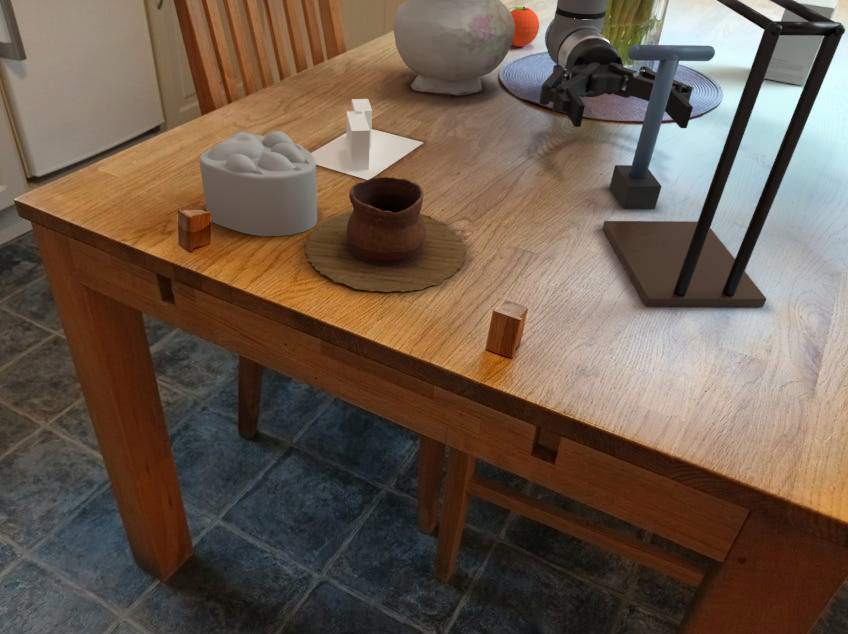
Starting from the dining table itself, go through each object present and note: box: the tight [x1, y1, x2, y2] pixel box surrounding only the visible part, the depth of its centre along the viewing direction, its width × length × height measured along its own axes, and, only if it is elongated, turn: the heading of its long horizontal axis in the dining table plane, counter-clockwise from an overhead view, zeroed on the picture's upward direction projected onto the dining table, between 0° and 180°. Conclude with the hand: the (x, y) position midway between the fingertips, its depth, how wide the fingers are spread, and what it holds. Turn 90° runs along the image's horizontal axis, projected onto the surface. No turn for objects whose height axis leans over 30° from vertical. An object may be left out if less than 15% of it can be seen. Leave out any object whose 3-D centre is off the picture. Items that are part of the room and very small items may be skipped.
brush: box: [609, 44, 716, 210], centre depth 85 cm, size 6×10×18 cm, turn 91°
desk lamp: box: [602, 0, 846, 308], centre depth 70 cm, size 17×12×26 cm
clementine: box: [509, 6, 540, 48], centre depth 139 cm, size 8×7×7 cm
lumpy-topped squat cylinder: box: [199, 130, 318, 237], centre depth 83 cm, size 10×13×9 cm
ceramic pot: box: [304, 176, 467, 293], centre depth 77 cm, size 18×18×7 cm
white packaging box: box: [764, 0, 839, 86], centre depth 125 cm, size 7×7×13 cm
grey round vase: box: [393, 0, 515, 96], centre depth 116 cm, size 22×20×25 cm
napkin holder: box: [310, 98, 424, 181], centre depth 98 cm, size 15×11×6 cm
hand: (633, 117), depth 90 cm, fingers open, 13 cm apart
